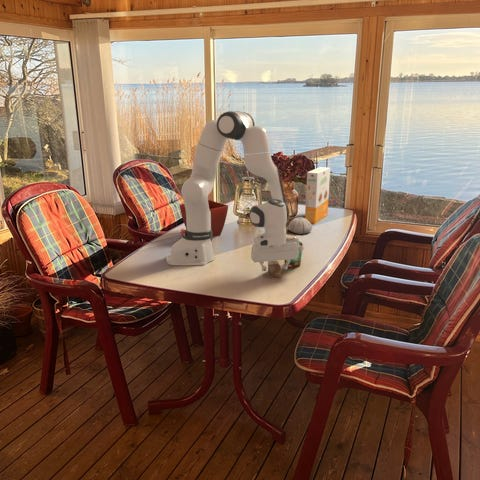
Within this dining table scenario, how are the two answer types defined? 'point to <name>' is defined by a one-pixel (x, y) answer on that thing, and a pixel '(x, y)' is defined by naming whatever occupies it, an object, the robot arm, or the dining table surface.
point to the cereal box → (317, 194)
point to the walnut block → (274, 269)
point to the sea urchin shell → (300, 226)
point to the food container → (296, 262)
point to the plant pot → (212, 216)
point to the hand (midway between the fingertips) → (274, 269)
